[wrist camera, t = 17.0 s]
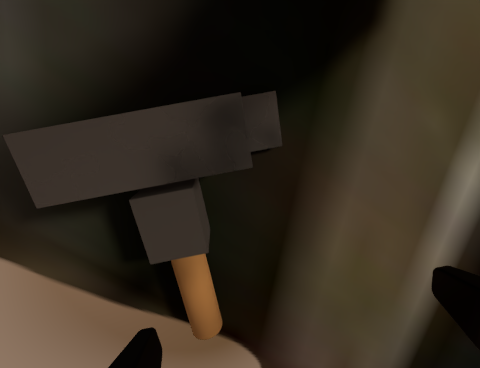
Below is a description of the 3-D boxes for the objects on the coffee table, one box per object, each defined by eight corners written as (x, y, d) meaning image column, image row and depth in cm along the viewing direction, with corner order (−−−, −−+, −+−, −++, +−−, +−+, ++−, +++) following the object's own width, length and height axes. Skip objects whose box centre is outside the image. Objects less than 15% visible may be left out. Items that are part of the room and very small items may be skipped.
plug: (145, 183, 19) (128, 200, 15) (197, 174, 19) (192, 188, 16) (187, 317, 23) (181, 355, 20) (229, 309, 23) (231, 345, 20)
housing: (272, 91, 18) (297, 81, 12) (279, 144, 19) (305, 157, 13) (32, 135, 17) (-60, 146, 12) (54, 186, 19) (-20, 219, 13)
